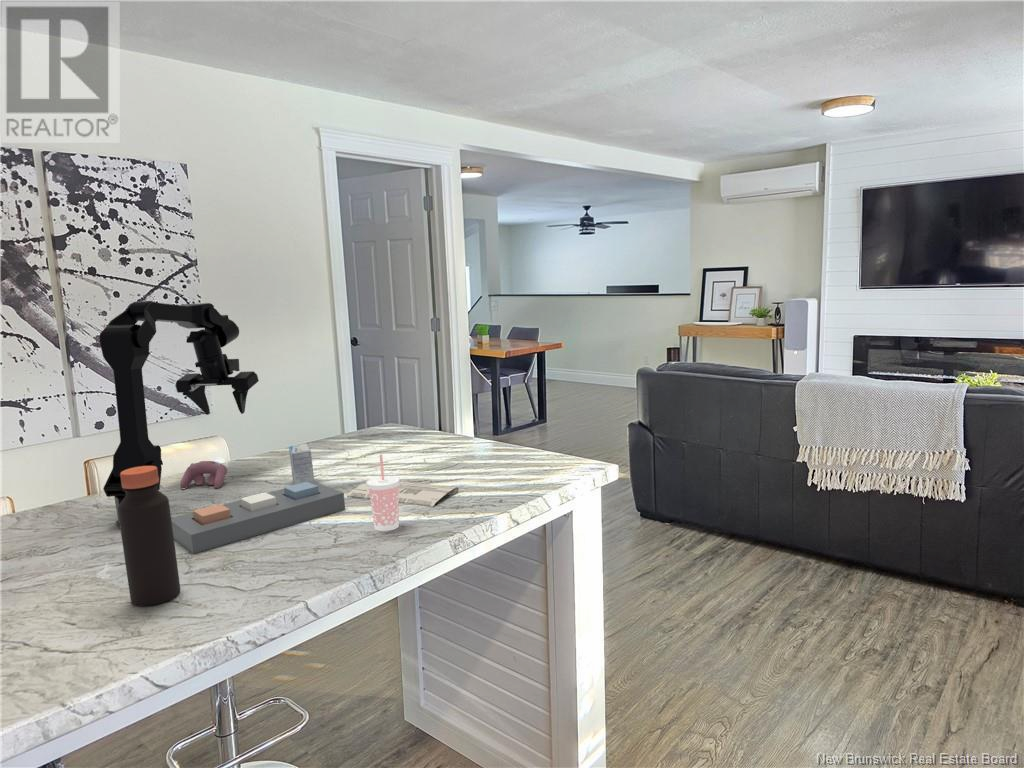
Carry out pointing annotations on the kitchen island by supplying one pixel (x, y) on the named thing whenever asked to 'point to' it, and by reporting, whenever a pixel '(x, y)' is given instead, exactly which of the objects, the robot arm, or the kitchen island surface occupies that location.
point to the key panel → (255, 519)
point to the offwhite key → (258, 502)
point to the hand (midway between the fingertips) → (225, 413)
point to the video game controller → (204, 467)
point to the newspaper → (410, 493)
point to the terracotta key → (211, 514)
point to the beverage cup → (384, 501)
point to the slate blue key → (301, 490)
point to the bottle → (147, 538)
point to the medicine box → (301, 463)
